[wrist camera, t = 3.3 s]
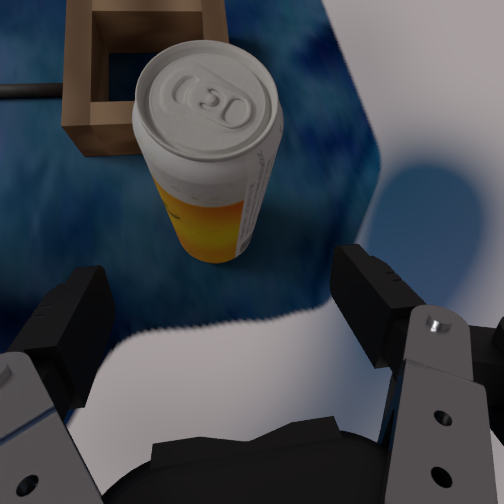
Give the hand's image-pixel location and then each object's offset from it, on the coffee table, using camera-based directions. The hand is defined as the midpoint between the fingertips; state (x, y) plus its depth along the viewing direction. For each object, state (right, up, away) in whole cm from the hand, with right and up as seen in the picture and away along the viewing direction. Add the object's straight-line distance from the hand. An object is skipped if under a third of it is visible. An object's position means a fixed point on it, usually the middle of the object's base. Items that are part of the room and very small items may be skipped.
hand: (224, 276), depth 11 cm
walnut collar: (-13, +15, +17) cm, 26 cm away
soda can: (-2, +3, +15) cm, 15 cm away
